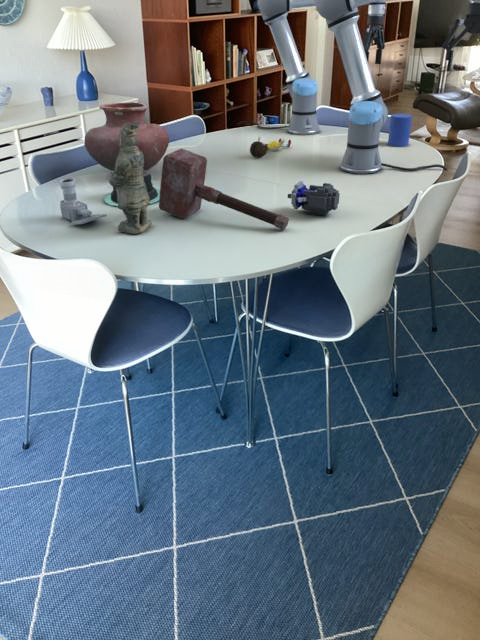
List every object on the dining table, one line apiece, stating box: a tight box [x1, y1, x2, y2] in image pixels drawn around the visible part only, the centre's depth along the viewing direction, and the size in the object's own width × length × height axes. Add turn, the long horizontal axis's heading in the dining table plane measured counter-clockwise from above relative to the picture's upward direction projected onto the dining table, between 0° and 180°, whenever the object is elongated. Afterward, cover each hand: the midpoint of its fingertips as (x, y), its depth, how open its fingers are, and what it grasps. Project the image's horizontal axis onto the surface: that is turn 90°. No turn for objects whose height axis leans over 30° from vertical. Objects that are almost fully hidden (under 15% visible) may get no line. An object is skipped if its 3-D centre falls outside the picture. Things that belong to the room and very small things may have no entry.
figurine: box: [249, 135, 292, 158], centre depth 235 cm, size 13×8×25 cm
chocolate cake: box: [103, 169, 160, 207], centre depth 186 cm, size 15×19×20 cm
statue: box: [108, 121, 153, 235], centre depth 154 cm, size 11×9×30 cm
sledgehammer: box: [158, 148, 290, 231], centre depth 163 cm, size 17×10×40 cm
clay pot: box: [83, 101, 170, 172], centre depth 207 cm, size 30×30×25 cm
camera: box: [59, 177, 108, 225], centre depth 165 cm, size 9×12×15 cm
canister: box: [387, 113, 413, 148], centre depth 241 cm, size 9×9×12 cm
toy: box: [287, 180, 341, 216], centre depth 168 cm, size 9×9×15 cm
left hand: (371, 65), depth 268 cm, fingers open, 13 cm apart
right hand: (468, 71), depth 195 cm, fingers open, 13 cm apart
